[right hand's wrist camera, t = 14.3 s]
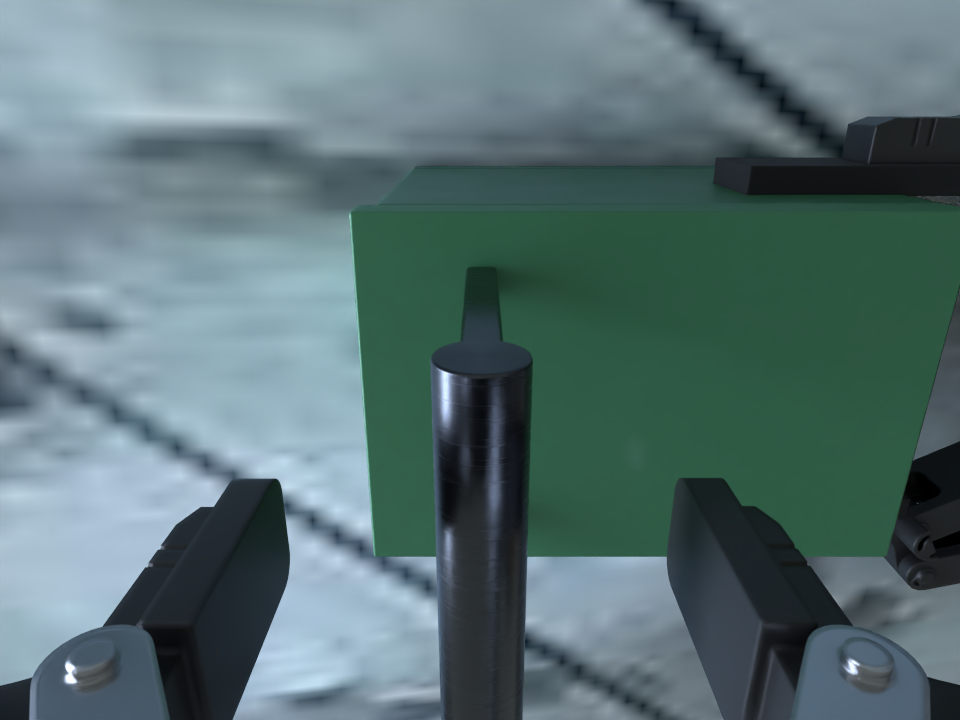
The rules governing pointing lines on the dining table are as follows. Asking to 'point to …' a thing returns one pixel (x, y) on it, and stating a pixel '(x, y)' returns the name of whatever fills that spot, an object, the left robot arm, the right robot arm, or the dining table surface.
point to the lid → (633, 387)
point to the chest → (593, 187)
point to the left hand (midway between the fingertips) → (708, 345)
